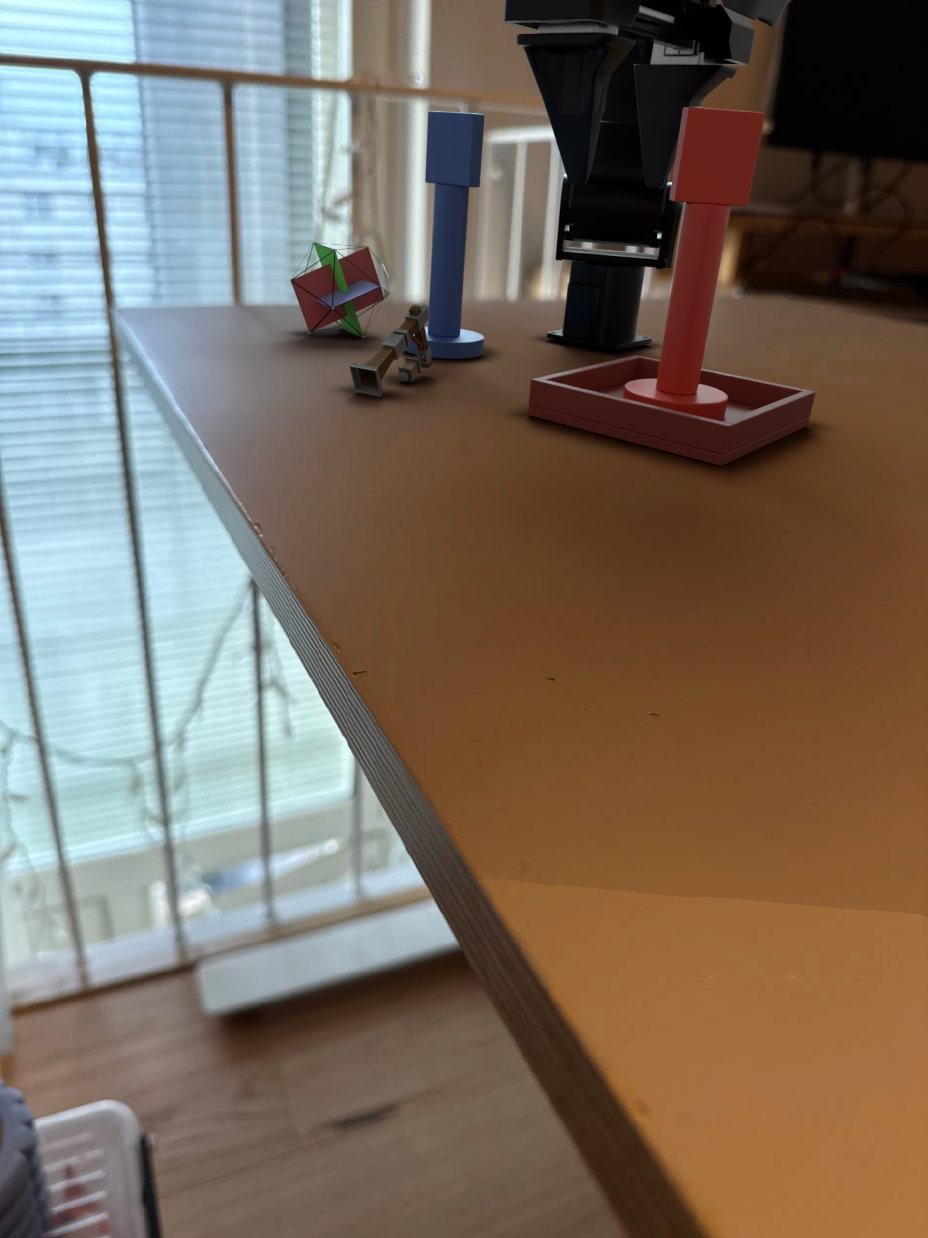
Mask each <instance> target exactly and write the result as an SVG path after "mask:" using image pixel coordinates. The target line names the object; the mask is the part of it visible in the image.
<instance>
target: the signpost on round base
mask: <svg viewBox="0 0 928 1238" xmlns="http://www.w3.org/2000/svg"><path fill="white" fill-rule="evenodd" d="M765 117H766V113H765V112H762V111H751V110H750V111H749V110H736V109H726V108H725V109H723V108H711V107H684V108H683V112H682V119H681V125H680V132H679V138H678V145H677V151H676V158H675V162H674V164H673V172H672V176H671V177H672V179H671V182H672V184H671V190H670V197H669V200H671V201H675V202H681V203H684V207H683V213H682V220H681V225H680V233H679V239H678V245H677V252H676V258H675V264H674V269H673V270H674V271H673V277H672V283H671V289H670V294H669V301H668V308H667V313H666V319H665V326H664V333H663V339H662V345H661V351H660V356H659V357H660V358H659V360H660V363H659V369H658V375H657V379H639V380H633V381H630V382H628V383H626V384H625V386H624V393H623V398H624V399H628V400H632V401H637V402H641V403H645V404H649V405H654V406H658V407H662V408H666V409H671V410H675V411H679V412H683V413H687V414H692V415H696V416H700V417H704V418H709V419H713V420H717V421H721V420H722V419H723V418H724V417H725V412H726V407H727V402H728V396H727V394H726V393H724V392H722V391H720V390H718V389H716V388H713V387H710V386H706V385H702V384H699V379H700V374H701V368H703V362H704V356H705V350H706V346H707V341H708V334H709V329H710V324H711V317H712V313H713V308H714V307H713V306H714V302H715V296H716V295H715V294H716V290H717V284H718V278H719V274H720V268H721V263H722V256H723V251H724V247H725V241H726V236H727V230H728V224H729V219H730V213H731V206H733V207H748V206H749V201H750V197H751V192H752V191H751V190H752V186H753V179H754V175H755V170H756V164H757V160H758V159H757V158H758V153H759V148H760V143H761V138H762V133H763V128H764V121H765Z"/></svg>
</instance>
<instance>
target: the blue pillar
mask: <svg viewBox="0 0 928 1238" xmlns="http://www.w3.org/2000/svg"><path fill="white" fill-rule="evenodd" d="M426 128H427V129H426V151H425V152H426V154H425V155H426V156H425V177H424V182H425V183H426V184H434V191H433V211H432V213H433V214H432V233H431V252H430V253H431V254H430V274H429V276H430V278H429V296H428V298H429V300H428V308H429V313H428V314H429V319H430V320H428V321H427V326H425V331H426V337H427V342H428V346H430V349H431V354H432V355H431V356H430V357H431V359H439V360H440V359H441V360H466V359H467V360H468V359H474V358H475V359H476V358H479V357H481V356H482V355H484V349H485V348H484V346H485V336H484V335H483V334H482V333H479V332H476V331H472V330H468V329H463V328H461V327H462V310H463V298H464V297H463V295H464V282H465V281H464V280H465V279H464V278H465V267H466V266H465V265H466V264H465V263H466V251H467V250H466V248H467V235H468V233H467V232H468V216H469V214H468V213H469V201H470V188H480V186H481V174H482V161H483V160H482V158H483V144H484V130H485V129H484V128H485V114H484V113H476V112H457V111H439V110H428V111H427V127H426ZM414 336H415V335H414ZM410 343H411V344H410V345H409V347H406V349H407V350H405V351H404V352H407V353H409V354H411V355H415V356H417V353H416V349H417V345H416V343H414V342H413V341H412V340H411V339H410Z"/></svg>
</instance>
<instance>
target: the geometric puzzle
mask: <svg viewBox="0 0 928 1238" xmlns="http://www.w3.org/2000/svg"><path fill="white" fill-rule="evenodd" d="M332 245H335V246H340V244H338V243H337V244H336V243H332ZM346 246H349V247H350V248H349V247H347V248H345V250H350V249H351V250H353V249H354V245H351V244H346ZM313 248H315V251H316V254H317V257H318V260H317V261H316V262H314V263H313V264H312V265H310V266H309V262H310V259H311V256H312V251H313ZM356 249H359V250H357V251H355V252H352V253H350V254H347V255H345V256H344V255H343V254H342V253H340V252H339V251H341V250H343V248H331V247H328V246H326V242H325V243H323V242H315V241H312V244H311V247H310V248H309V249H308V251H307V253H306V254H305V256H304V258H303V259H302V261H301V263H300V264H299V266H298V267H297V269H299V268H300V266H301V265H302V262H303V261H304V259H305V258H306V256H307V254H308V253H309V252H310V253H309V256H308V259H307V264H306V268H305V270H303V271H302V272H300V273H299V274H297V275H295V274H296V272H297V271H295V272H294V274H293V275H292V277H291V278H289V282H290V283H291V285H292V288H293V291H294V294H295V296H296V299H297V302H298V305H299V308H300V310H301V313H302V316H303V318H304V322H305V323H306V327H307V329H308V334H309V335H311V334H317V335H321V333H319V332H324V331H329V330H334V329H340V328H344V329H345V330H348V331H350V332H352V333H354V334H356V335H357V336H358V337H359V338H360V337H361V338H365V337H366V336H365V335H366V334H367V332H368V330H369V328H368V327H369V326H371V324H372V322H373V321H374V319H375V317H373V318H372V321H371V317H372V315H373V311H374V309H375V306H376V305H378V304H383V303H384V301H385V300H386V298H388V297H389V296H390V295H391V290H390V285H389V283H388V282H390V277H389V273H388V270H387V268H386V267H385V264H383V263H382V262H381V260H380V259H379V258H378V257H377V255H376V254H375V253H374V252H373V251H372V249H371V248H370V246H369V245H366V246H365V245H360V246H356ZM337 253H338V254H339V255H340V256H341V257H340V258H339V257H338V254H337ZM372 255H373V256H372ZM373 257H374V258H375V261H376V262H377V263H378V265H379V266H380V267H379V268H380V279H379V275H378V273H377V269H376V266H375V264H374V261H373ZM318 263H320V266H319V267H318V268H315V269H313V270H311V271H308V272H307V270H309V269H310V268H312V267H313V266H315V265H317V264H318ZM308 266H309V267H308ZM303 273H304V274H303ZM387 281H388V282H387ZM366 308H367V309H366ZM380 308H381V306H379V308H378V309H377V311H376V313H375V315H377V313H378V312H379V309H380ZM364 309H366V310H364ZM371 309H372V311H371V312H370V317H369V319H368V322H367V325H366V327H365V330H364V333H363V329H362V327H361V324H360V321H359V318H358V317H360V316H361V315H363V314H364V313H366V312H367V311H369V310H371ZM362 310H364V311H363V312H361V313H359V314H357V312H359V311H362ZM338 321H339V322H338ZM370 321H371V322H370ZM334 323H336V324H337V325H339V326H334V327H329V328H324V327H327V326H329V325H332V324H334ZM369 324H370V325H369ZM323 328H324V329H323ZM328 335H331V336H336V334H334V333H333V334H332V333H328ZM343 336H347V337H351V335H349V334H343Z"/></svg>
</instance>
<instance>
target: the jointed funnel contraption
mask: <svg viewBox="0 0 928 1238" xmlns="http://www.w3.org/2000/svg"><path fill="white" fill-rule="evenodd" d="M404 319H405V320H404V321H403V322H402V323H401V325H400V326H399V327H398V328H393V330H392V333H389V335H388V337H387V338H386V339H385V341H384V342H382V343H381V348H380V349H379V351H378V352H377V353H376V354H374V355H373V356H372V357H371V358H370V359H368V360H367V361H366V362H365V363H364V364H358V363H355V362H354V363H352V365H349V366H348V367H349V370H350V375H351V379H352V383H353V387H354V391H355V392H356V393H361V394H366V395H371V396H377V397H382V394H383V393H384V388H383V384H382V380H383V379H384V377H385V375H386V373H387V372H388V370H389V368H390V366H391V365H392V364H393V362H394V361H395V360H396V361H398V360H399V359H400V356H402V354H403V353H404V352H406V351H405V350H407V349H406V347H409V345H410V344H411V343H410V339H411V340H412V341H413V342H414V343H416V345H417V349H416V353H417V355H415V356H414V355H412V357H409V356H405V357H404V362H403V364H401V365H400V366H397V369H398V379H399V381H400V382H403V383H405V382H412V383H414V379H415V377H416V376H417V375H418V374H420V375H421V374H422V373H423V371H422V368H424V369H430V368H431V366H432V365H433V362H432V358H431V357H430V356H431V355H432V354H431V349H430V346H428V342H427V337H426V331H425V327H426V326H425V325H426V323H428V320H430V319H429V305H427V304H425V303H423V304H422V303H421V304H420V305H419V304H413V305H411V306H410V307H409V309H408V313H407V314H406V315H404ZM414 335H415V336H414Z"/></svg>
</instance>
